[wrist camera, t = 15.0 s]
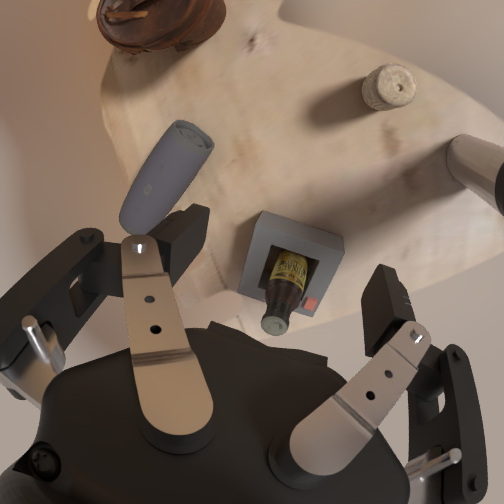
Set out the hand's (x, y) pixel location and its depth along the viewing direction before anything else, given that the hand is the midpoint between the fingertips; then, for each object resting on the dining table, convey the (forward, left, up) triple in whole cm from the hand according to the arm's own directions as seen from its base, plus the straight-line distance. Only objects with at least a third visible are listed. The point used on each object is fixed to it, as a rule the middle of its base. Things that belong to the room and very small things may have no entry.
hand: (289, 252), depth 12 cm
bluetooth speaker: (+24, +13, -38) cm, 47 cm away
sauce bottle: (-3, +23, -38) cm, 45 cm away
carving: (-8, -13, -38) cm, 41 cm away
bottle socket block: (-3, +23, -38) cm, 44 cm away
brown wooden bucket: (+27, -19, -38) cm, 50 cm away
